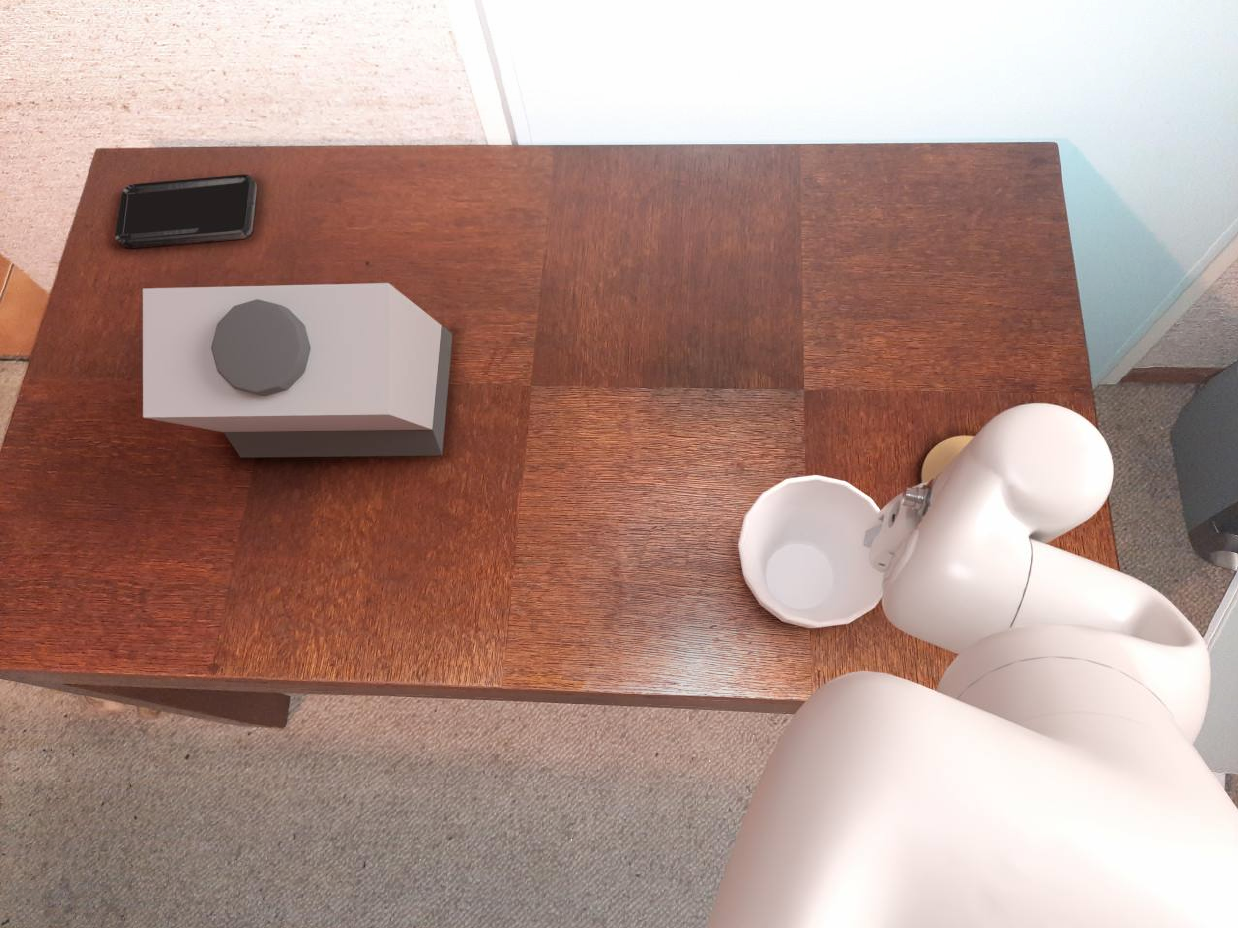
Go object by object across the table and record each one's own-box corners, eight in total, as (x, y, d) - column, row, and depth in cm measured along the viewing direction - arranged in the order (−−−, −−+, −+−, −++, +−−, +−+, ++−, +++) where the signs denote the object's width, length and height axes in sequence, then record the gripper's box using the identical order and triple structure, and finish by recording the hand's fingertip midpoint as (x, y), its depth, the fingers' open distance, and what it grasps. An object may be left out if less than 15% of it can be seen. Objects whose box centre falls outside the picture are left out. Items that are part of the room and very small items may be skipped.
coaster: (1032, 517, 79) (1034, 516, 78) (937, 536, 79) (938, 534, 78) (1000, 428, 82) (1002, 427, 81) (908, 446, 82) (909, 445, 81)
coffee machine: (452, 334, 89) (392, 215, 70) (440, 478, 84) (371, 391, 64) (260, 337, 90) (150, 222, 71) (236, 479, 85) (110, 395, 66)
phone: (123, 185, 96) (253, 173, 96) (129, 191, 97) (258, 179, 97) (113, 244, 94) (247, 233, 93) (119, 250, 95) (252, 239, 94)
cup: (865, 515, 80) (894, 477, 69) (869, 650, 76) (900, 632, 65) (731, 509, 81) (739, 470, 70) (727, 642, 77) (736, 622, 66)
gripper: (858, 541, 58) (817, 589, 76) (1087, 596, 56) (991, 632, 73) (877, 440, 60) (833, 509, 78) (1098, 489, 58) (1002, 549, 76)
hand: (910, 569), depth 76 cm, fingers closed
